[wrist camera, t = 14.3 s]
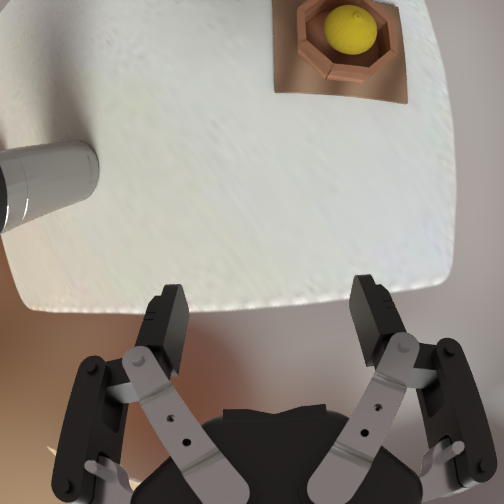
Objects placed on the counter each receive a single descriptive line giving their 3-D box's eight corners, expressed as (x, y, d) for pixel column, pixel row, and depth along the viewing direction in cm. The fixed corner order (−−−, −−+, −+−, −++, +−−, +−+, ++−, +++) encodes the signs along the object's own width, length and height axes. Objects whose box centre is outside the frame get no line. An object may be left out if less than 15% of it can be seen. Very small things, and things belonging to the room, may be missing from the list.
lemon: (343, 16, 25) (357, -14, 17) (375, 49, 26) (397, 26, 18) (310, 36, 26) (316, 8, 19) (342, 70, 28) (358, 50, 20)
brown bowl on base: (275, 92, 31) (272, 83, 26) (272, -3, 26) (269, -24, 21) (404, 104, 29) (423, 98, 24) (395, 9, 24) (409, -7, 19)
